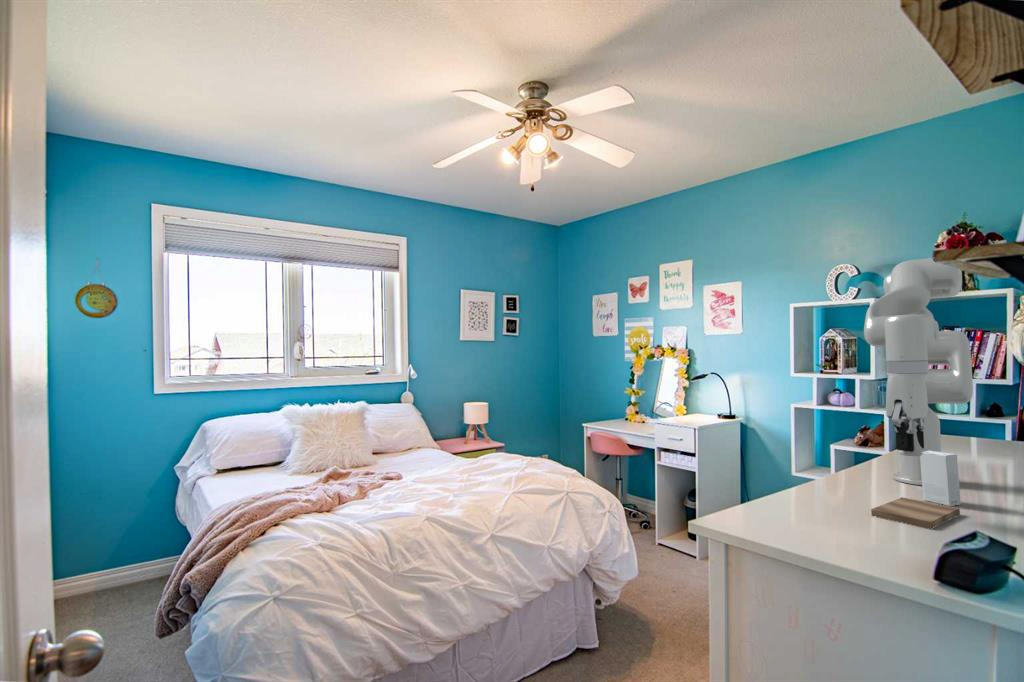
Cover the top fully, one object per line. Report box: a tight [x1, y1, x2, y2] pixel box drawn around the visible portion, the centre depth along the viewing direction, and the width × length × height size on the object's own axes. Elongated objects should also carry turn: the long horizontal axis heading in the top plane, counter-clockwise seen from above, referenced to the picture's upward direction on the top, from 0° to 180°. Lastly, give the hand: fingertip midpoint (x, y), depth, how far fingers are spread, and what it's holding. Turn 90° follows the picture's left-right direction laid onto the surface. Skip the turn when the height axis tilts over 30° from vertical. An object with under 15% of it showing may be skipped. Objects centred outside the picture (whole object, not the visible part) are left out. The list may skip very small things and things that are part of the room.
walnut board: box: [870, 496, 961, 530], centre depth 116 cm, size 16×11×2 cm
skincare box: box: [920, 451, 961, 507], centre depth 125 cm, size 6×4×12 cm
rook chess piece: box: [897, 419, 923, 456], centre depth 117 cm, size 4×4×8 cm
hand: (910, 448), depth 117 cm, fingers closed on rook chess piece, 4 cm apart
